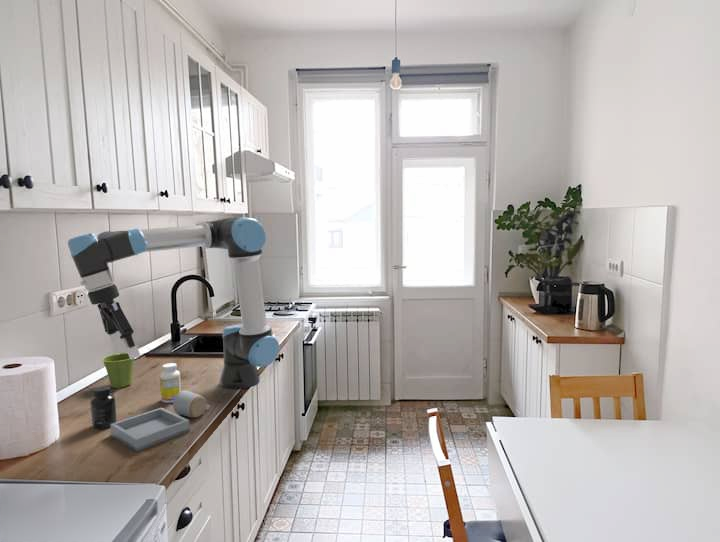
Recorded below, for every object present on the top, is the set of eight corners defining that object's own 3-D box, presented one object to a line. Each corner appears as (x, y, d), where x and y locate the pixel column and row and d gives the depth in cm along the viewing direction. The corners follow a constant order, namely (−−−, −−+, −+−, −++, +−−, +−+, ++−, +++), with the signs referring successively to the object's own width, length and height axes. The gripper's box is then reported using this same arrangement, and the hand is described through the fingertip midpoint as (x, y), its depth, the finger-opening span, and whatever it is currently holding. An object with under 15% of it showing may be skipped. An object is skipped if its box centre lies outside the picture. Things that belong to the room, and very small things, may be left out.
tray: (162, 417, 152) (161, 407, 151) (189, 431, 142) (189, 420, 141) (110, 435, 139) (110, 424, 139) (137, 451, 129) (136, 439, 129)
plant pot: (131, 378, 191) (129, 351, 190) (142, 385, 182) (140, 356, 181) (99, 385, 183) (97, 357, 181) (109, 393, 174) (107, 363, 173)
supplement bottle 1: (98, 421, 150) (95, 384, 148) (120, 420, 150) (118, 384, 149) (87, 430, 143) (85, 392, 141) (111, 429, 143) (108, 391, 142)
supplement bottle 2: (166, 396, 170) (164, 362, 169) (184, 396, 170) (182, 362, 169) (157, 403, 164) (155, 367, 162) (176, 403, 163) (174, 368, 162)
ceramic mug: (190, 422, 148) (190, 398, 148) (172, 417, 152) (172, 394, 152) (215, 410, 158) (215, 388, 157) (198, 406, 162) (197, 384, 161)
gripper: (77, 292, 141) (104, 356, 145) (98, 292, 122) (127, 365, 126) (103, 283, 145) (128, 346, 150) (127, 282, 127) (155, 353, 131)
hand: (128, 355), depth 138 cm, fingers open, 13 cm apart
